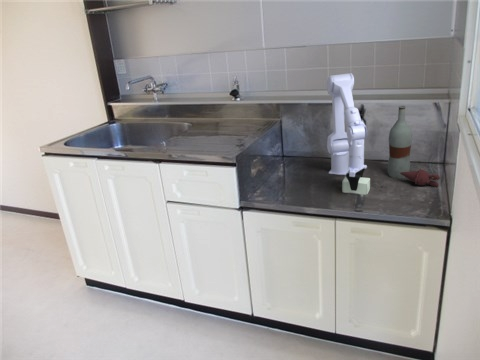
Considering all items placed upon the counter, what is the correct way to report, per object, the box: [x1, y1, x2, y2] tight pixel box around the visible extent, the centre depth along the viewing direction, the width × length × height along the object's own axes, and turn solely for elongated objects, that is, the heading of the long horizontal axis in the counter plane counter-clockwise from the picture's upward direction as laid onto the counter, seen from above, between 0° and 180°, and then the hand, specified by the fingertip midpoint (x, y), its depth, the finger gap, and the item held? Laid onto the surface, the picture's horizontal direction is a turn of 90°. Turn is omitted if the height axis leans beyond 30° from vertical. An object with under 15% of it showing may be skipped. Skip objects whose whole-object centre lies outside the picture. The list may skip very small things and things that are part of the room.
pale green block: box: [341, 175, 371, 196], centre depth 162 cm, size 6×10×5 cm, turn 62°
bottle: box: [387, 105, 413, 180], centre depth 166 cm, size 9×9×30 cm
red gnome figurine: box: [400, 168, 441, 188], centre depth 160 cm, size 7×7×15 cm
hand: (356, 186), depth 162 cm, fingers open, 7 cm apart
